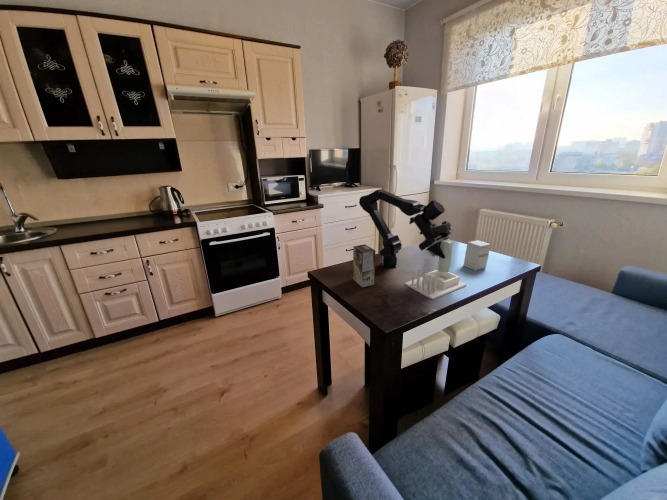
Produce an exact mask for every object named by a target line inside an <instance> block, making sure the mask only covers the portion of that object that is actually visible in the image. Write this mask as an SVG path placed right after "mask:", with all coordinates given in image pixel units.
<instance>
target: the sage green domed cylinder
mask: <svg viewBox="0 0 667 500" xmlns="http://www.w3.org/2000/svg"><path fill="white" fill-rule="evenodd" d="M440 248H441V250H442V252H443V253H444V255H445V258H444V259H443V258H441V257H439V256H438V261H437V269H436V270H438V271H440V272H444V273H446V272H450V267H451V261H452V256H453V255H452V254H453V248H454V241H452V240H450V239H448V240H441V245H440Z"/></svg>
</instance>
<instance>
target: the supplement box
mask: <svg viewBox="0 0 667 500" xmlns="http://www.w3.org/2000/svg"><path fill="white" fill-rule="evenodd" d="M490 248H491V243H488V242H486V241H482V240H478V239H477V240H471V241H468V242H467V243H466V250H465V255H464V259H463V261H464V262H463V266H464V267H467V268H469V269H471V270H473V271H478V270H483V269H486V268H487V263H488V260H489V253H490Z"/></svg>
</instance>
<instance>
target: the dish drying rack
mask: <svg viewBox="0 0 667 500" xmlns="http://www.w3.org/2000/svg"><path fill="white" fill-rule="evenodd" d="M415 273H416V272H415V271H412V277H411V280H409V281H406V282H404V285H405V286H407V287H408V288H410V289H412V290H414V291H416V292H418V293H419V294H421V295H423V296H425V297H427V298H428V299H431V300H435V299H437V298H440V297H442V296H445V295H448V294H450V293H452V292H455V291H458V290H460V289H462V288H465V287H467V284H466V283H464V282H463V281H460V278H461V276H459V275H457V274H454V273H452V272H451V271H449V272H446V273H444V272H440V271H438V270H437V269H435V270H433V271H429V272H423V274H422V276H421V274H420V273H421V271H420V269H417V275H416V276H417V277H416V278H415Z"/></svg>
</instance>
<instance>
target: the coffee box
mask: <svg viewBox="0 0 667 500" xmlns="http://www.w3.org/2000/svg"><path fill="white" fill-rule="evenodd" d="M352 248H353V249H352V257H353V258H352V259H353V260H352V263H353V264H352V279H353V281H354V282H355V283H356V284H358V285H359V287H361V288H365V287H370V286H374V285H375V273H376V272H375V269H376V268H375V266H376V250H375V249H374V248H372V247H370V246H369V245H367V244H365V243H364V244H357V245H354V246H353V247H352Z"/></svg>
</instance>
